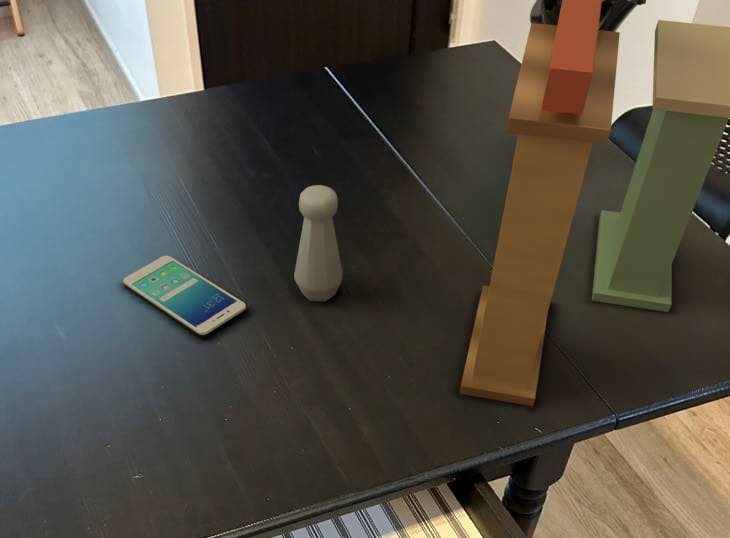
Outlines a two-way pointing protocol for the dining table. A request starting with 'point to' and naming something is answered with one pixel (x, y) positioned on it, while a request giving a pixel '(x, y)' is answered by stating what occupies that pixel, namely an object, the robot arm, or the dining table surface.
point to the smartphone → (185, 296)
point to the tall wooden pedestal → (535, 220)
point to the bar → (572, 57)
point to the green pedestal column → (666, 166)
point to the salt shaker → (318, 245)
